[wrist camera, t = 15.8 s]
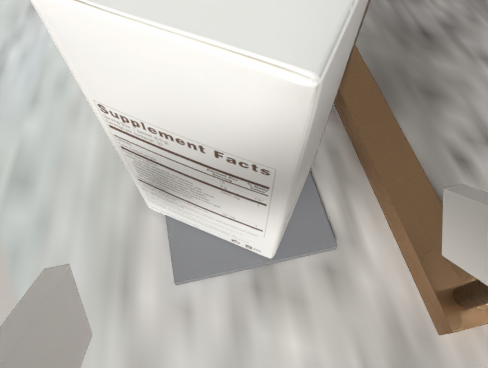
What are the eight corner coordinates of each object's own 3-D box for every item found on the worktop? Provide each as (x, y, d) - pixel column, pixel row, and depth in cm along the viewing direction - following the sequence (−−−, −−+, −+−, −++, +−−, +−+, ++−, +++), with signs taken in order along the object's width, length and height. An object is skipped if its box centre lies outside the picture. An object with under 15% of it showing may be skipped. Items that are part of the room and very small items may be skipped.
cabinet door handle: (348, 56, 30) (429, -181, 17) (486, 322, 20) (934, 233, 7) (315, 61, 30) (372, -176, 17) (439, 335, 20) (817, 265, 7)
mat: (289, 124, 27) (290, 119, 26) (335, 249, 22) (337, 246, 21) (157, 148, 25) (155, 143, 25) (176, 285, 21) (174, 283, 20)
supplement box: (206, 108, 26) (173, -155, 13) (319, 149, 25) (410, -105, 12) (142, 208, 22) (4, -25, 9) (272, 264, 21) (328, 80, 8)
